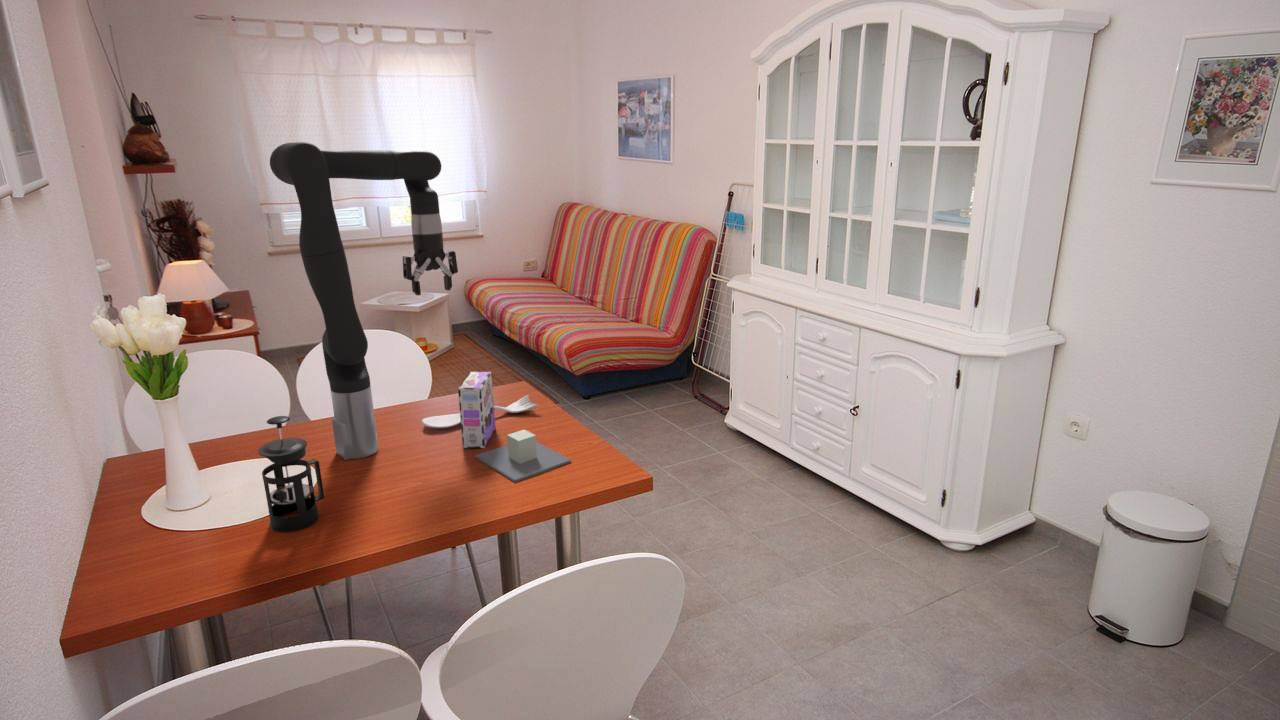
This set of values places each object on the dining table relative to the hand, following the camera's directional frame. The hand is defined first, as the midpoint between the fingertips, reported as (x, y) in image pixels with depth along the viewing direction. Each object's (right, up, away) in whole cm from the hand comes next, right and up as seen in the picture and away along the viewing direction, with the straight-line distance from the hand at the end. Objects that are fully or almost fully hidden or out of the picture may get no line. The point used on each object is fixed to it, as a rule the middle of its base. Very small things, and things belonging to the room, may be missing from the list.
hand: (432, 292), depth 196 cm
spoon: (+10, -35, +11) cm, 38 cm away
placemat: (+26, -42, -15) cm, 52 cm away
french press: (-17, -52, -42) cm, 68 cm away
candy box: (+13, -39, -2) cm, 41 cm away
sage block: (+26, -42, -15) cm, 52 cm away
